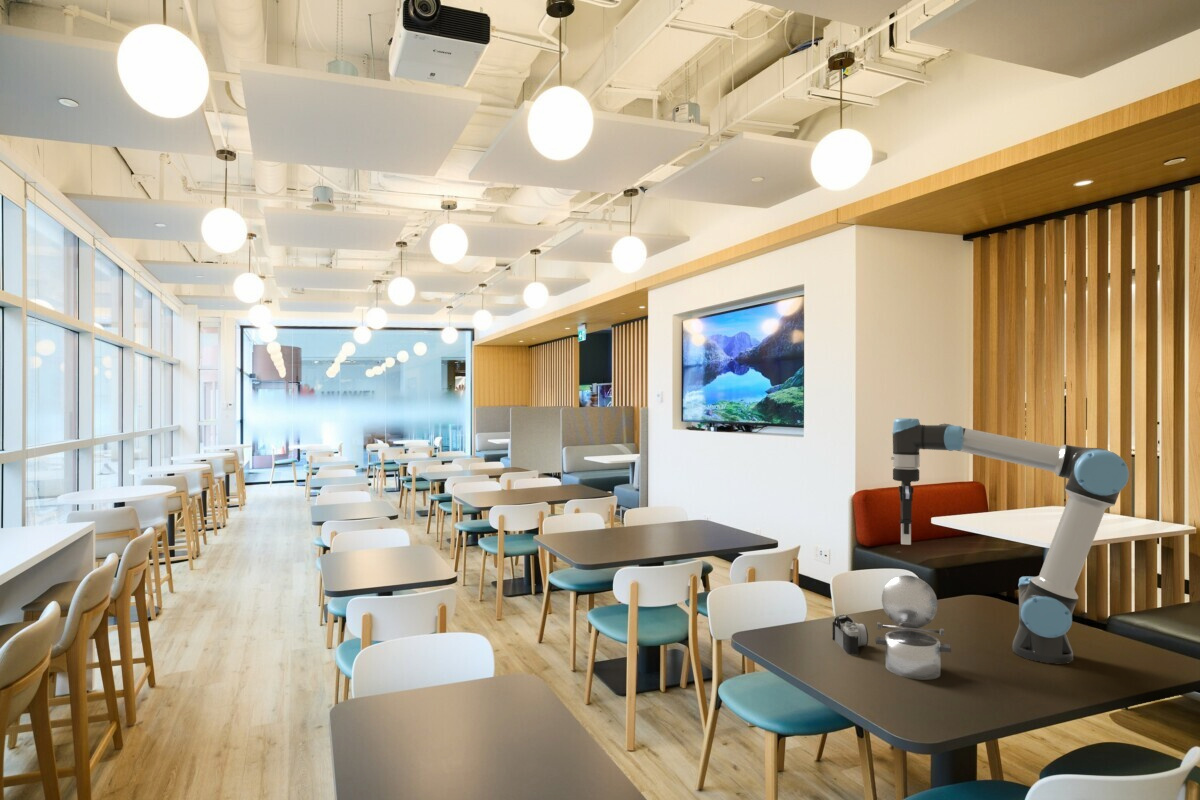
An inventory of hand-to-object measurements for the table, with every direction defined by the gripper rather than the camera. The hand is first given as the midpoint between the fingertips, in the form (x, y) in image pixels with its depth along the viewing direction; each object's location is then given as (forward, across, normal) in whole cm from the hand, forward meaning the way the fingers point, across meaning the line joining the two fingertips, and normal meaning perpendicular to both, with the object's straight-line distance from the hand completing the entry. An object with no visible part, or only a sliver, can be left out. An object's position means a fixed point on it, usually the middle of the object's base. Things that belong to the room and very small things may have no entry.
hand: (905, 543), depth 208 cm
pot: (+32, +20, 0) cm, 38 cm away
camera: (+32, +6, -16) cm, 37 cm away
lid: (+22, +12, 0) cm, 26 cm away
